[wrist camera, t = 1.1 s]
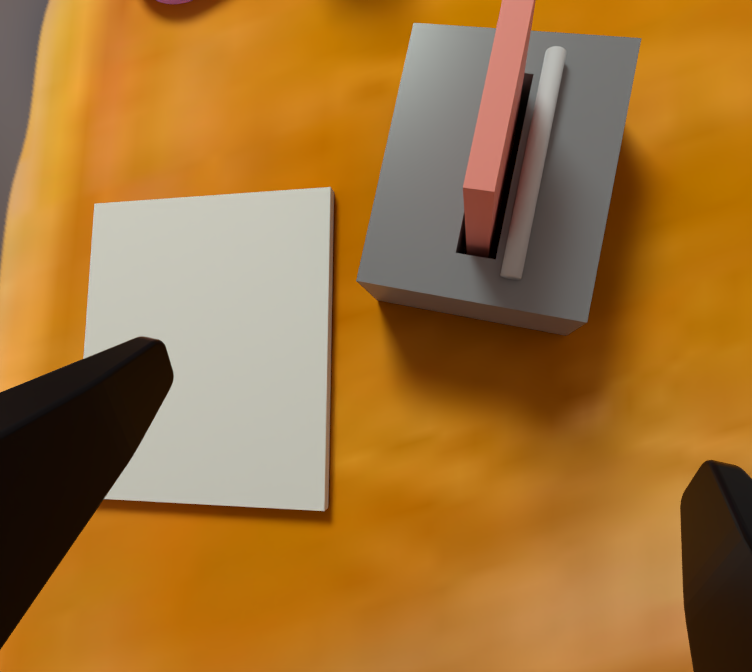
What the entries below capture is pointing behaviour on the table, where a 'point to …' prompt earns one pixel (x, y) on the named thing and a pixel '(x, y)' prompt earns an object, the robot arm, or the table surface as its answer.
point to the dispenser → (528, 187)
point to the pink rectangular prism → (496, 126)
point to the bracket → (173, 1)
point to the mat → (224, 342)
